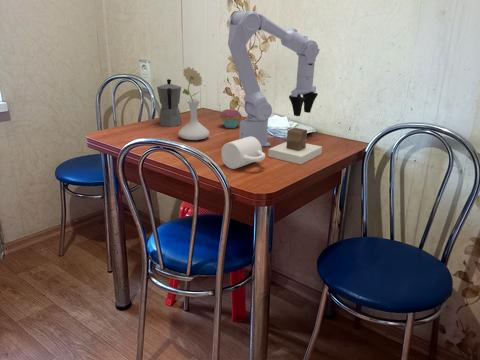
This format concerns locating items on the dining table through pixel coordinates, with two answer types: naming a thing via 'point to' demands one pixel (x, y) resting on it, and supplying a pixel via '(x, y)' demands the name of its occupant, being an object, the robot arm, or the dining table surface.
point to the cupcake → (230, 117)
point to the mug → (242, 152)
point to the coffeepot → (169, 104)
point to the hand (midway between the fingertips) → (302, 114)
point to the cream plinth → (295, 153)
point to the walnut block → (296, 139)
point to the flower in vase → (193, 110)
